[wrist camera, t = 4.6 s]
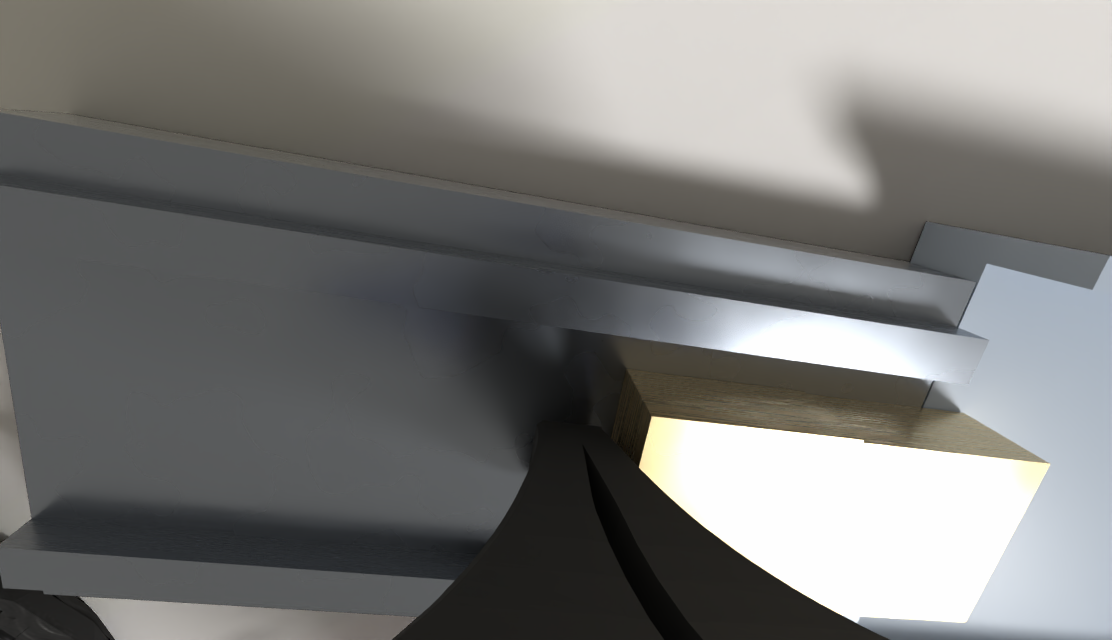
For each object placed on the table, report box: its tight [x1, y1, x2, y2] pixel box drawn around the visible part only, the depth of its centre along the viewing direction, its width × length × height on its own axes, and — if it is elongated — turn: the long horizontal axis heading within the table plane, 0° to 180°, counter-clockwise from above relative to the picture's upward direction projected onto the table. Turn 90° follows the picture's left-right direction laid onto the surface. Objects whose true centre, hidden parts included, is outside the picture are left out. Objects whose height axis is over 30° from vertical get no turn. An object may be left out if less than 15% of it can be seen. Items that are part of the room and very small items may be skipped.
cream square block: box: [611, 369, 863, 593], centre depth 11 cm, size 4×4×2 cm
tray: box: [857, 222, 1112, 640], centre depth 13 cm, size 11×12×4 cm
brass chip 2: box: [802, 394, 1050, 622], centre depth 11 cm, size 4×4×2 cm
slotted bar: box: [0, 109, 989, 623], centre depth 12 cm, size 18×10×3 cm, turn 80°
